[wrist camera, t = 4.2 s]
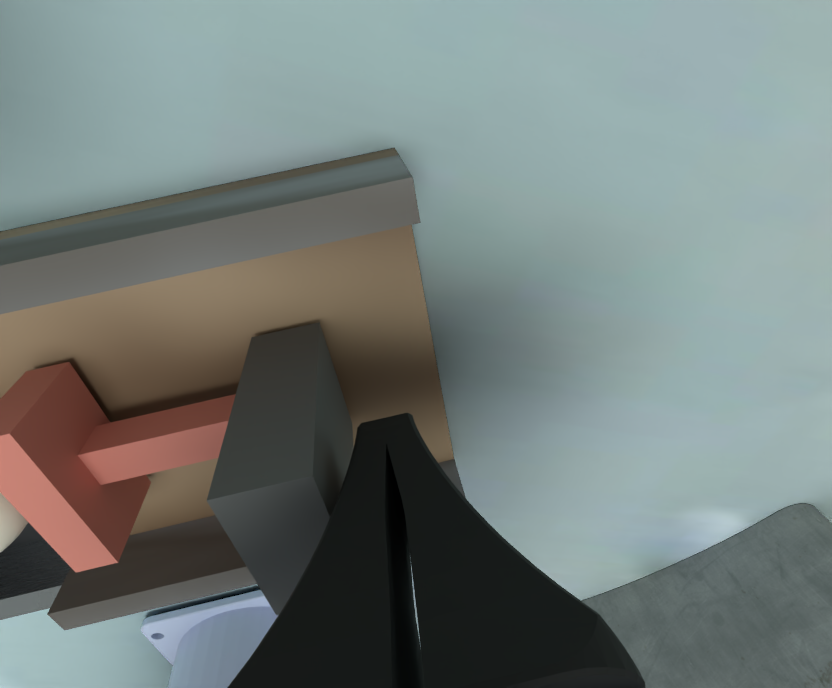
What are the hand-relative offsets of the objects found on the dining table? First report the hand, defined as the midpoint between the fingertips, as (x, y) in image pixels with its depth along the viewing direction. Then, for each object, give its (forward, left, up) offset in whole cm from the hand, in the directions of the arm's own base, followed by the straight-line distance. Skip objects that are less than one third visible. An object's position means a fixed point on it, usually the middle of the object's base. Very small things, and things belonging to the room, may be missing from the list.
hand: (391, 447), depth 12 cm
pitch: (0, +5, -5) cm, 7 cm away
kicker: (0, +5, -4) cm, 7 cm away
